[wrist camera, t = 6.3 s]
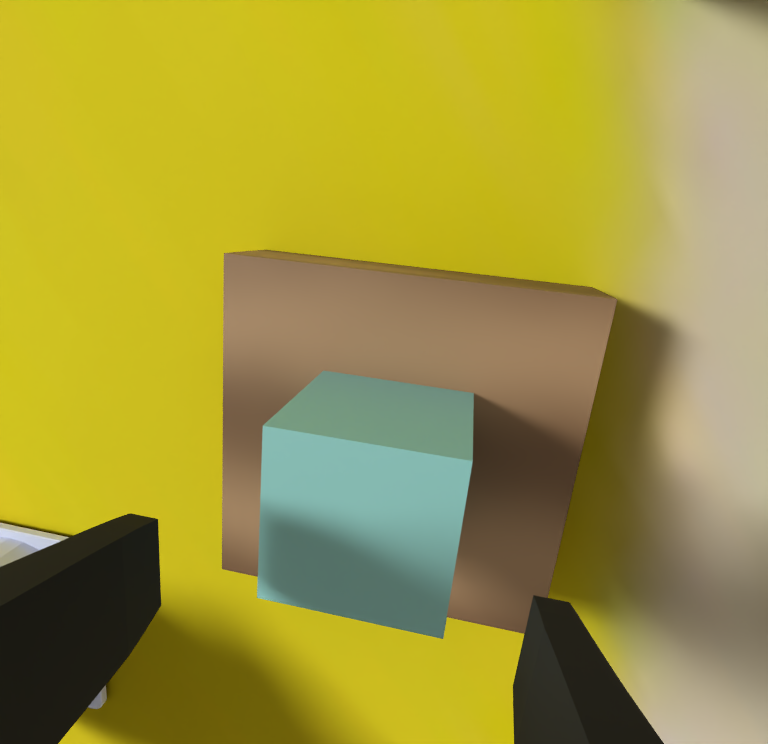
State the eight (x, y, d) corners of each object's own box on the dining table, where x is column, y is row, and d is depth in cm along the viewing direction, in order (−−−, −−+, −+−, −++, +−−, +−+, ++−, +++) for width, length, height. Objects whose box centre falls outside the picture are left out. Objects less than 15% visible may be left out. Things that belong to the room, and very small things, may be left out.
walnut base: (529, 576, 19) (538, 636, 16) (257, 522, 21) (222, 569, 18) (592, 287, 16) (617, 299, 13) (265, 249, 17) (223, 253, 15)
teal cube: (452, 527, 16) (443, 638, 11) (314, 501, 16) (257, 597, 12) (473, 392, 14) (472, 461, 10) (323, 370, 15) (263, 425, 11)
